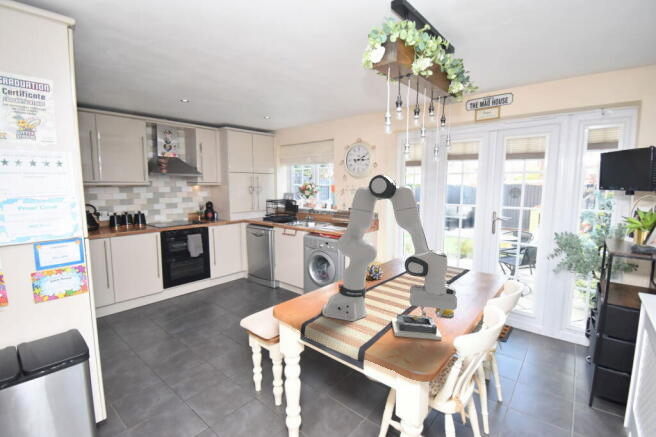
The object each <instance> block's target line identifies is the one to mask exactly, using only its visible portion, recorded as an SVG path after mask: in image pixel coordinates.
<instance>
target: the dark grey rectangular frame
mask: <svg viewBox="0 0 656 437" xmlns="http://www.w3.org/2000/svg"><path fill="white" fill-rule="evenodd" d="M413 316H414V314H413V315H412V314H411V315H410V314H403V313H402V314H400V313H398V314H397V316H396V318H397V322H398V326H399V330H400V331H410V332H421V333H432V334H437V328H438V327H437V326H438V325H436V323H435V320H434V319H433V317H432V316H422V315H418V316H419V319H418V324H415V323H414V318H413Z"/></svg>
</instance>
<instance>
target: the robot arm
mask: <svg viewBox="0 0 656 437" xmlns="http://www.w3.org/2000/svg"><path fill="white" fill-rule="evenodd" d="M414 193H415V192H414V190H413V189H412V187H410V186H409V185H399V186H398V185H397V183H396V182H395V180H394V179H393V178H392V177H390V176H389V175H385V174H377V175H374V176H373V177H372V178H371V179H370V181H369V183H368V187H367V186H363V187H359V188H357V189H356V190H355V193H354V195H353V199H352V203H351V208H350V213H349V220H348V223H347V227H346V229H345V231H344V233H343V234H342V236H340V237H339V238H338V240H337V241H336V242H337V243H336V247H337V250H338V251H339V252H340V253H341V254H342V255H344V256H345V257H347V258H349V263H348V266H347V267H346V268H345V269H344V271H343V281H342V282H339V283H338V291H337V292H336V293H334V294H333V295H330V297H329V298H328V301H327V303H326V304H325V305H324V306H322V311H321V313H322V316H323V317H327V318H330V319H331V318H333V319H337V320H343V321H350V322H355V321H357V320H359V319H363V318H365V317H367V315H368V313H367V310H366V309H367V307H366V296H367V288H366V287H367V286H366V279H367V278H366V277H367V272H368V270H367V269H368V267H370V265H371V264H372V263H374V262H375V261H376V258H377V257H378V256H377V255H378V249H377V247H376V246H375V245H374V244H373V243H372V242H370V241H368V240H365V239H364V236H365V234H366V232H367V231H369V230H370V229H371V228H372V223H373V217H374V211H375V206H376V203H377V201H381V200H387V199H388V200H389V201H390V202H391V205H392V209H393V214H394V218H395V222H396V224H397V226H399V228H401V229H403V230H405V231H406V232H407V233H409V235H410V237H411V241H412V244H413V249H414V254H412V255H410V256H408V257H407V258H406V259H405V261H404V268H405V271H406V273H407V274H409V276H413V277H419V278H420V277H421V278H422V277H423V278H424V284H423V285H421V284H413V285H412V286H410V288H409V293H410V294H409V298H408V302H409V304H410V305H411V306H415V307H420V309H421V316H425V317H427V312H426V310H424V309H425V308H433V309H436V308H440V311H439V312H437V311H436V314H435V315H436V318H439V319H440V318H442V316H441V314H442V313H443V312H444V309H449V310H453V311H455V310H456V309H458V308H457V307H458V297H457V295H456V294H457V291H456V289H455V288H454V286H453V285H450V284H448V283H447V282H446V275H447V273H448V257H447V255H446V254H445V253H444V252H443V251H441V250H437V249H431V250H430V248H429V245H428V243H427V238H426V235H425V231H424V229H423V225H422V222H421V221H422V220H421V216H420V211H419V206H418V201H417V199H416V195H415V194H414Z"/></svg>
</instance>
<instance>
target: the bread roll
mask: <svg viewBox="0 0 656 437" xmlns="http://www.w3.org/2000/svg"><path fill="white" fill-rule="evenodd" d="M435 310H436V313H437V312H439V311H440V308H435ZM454 311H455V310H449V309H444V312H443V313H442V314H441V317H444V318H452V317H453V316H454V315H455V312H454Z"/></svg>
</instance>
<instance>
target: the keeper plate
mask: <svg viewBox="0 0 656 437" xmlns="http://www.w3.org/2000/svg"><path fill="white" fill-rule="evenodd" d="M419 316H420V315H418V314H413V318H414V323H415V324H418V319H419ZM390 321H391V325H392V329H393V334H394V336H395V337H403V338H404V337H406V338H407V337H408V338H417V339H429V340H438V341H440V340H441V341H442V338H443V336H442V334H441V333H440V331H439V329H438V327H437V334H432V333H421V332H410V331H400V330H399V326H398V322H397V317H391V320H390Z"/></svg>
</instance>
